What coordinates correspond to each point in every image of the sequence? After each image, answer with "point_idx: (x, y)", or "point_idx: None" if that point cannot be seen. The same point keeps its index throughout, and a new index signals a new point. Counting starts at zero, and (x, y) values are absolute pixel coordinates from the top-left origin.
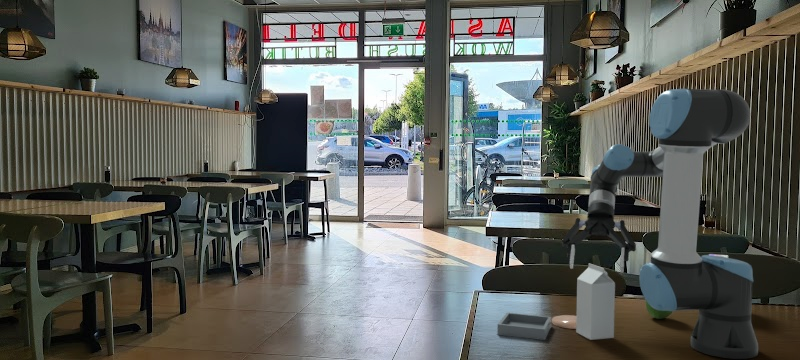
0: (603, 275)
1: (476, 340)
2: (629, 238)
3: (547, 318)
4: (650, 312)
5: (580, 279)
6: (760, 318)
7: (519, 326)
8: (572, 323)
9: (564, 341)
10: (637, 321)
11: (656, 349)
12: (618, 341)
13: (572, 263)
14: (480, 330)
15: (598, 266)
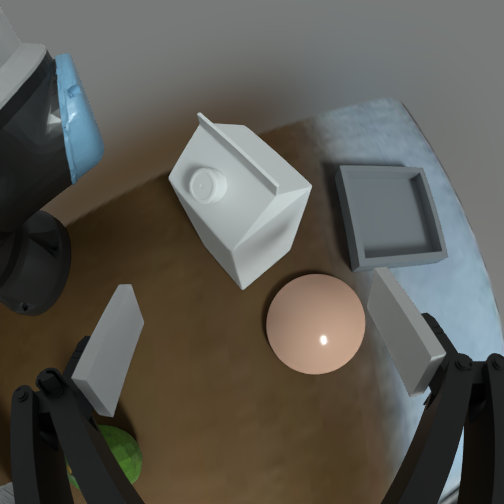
0: (205, 158)
1: (420, 141)
2: (22, 442)
3: (366, 259)
4: (132, 437)
5: (295, 171)
6: (3, 462)
7: (387, 167)
8: (310, 297)
9: None
10: (163, 410)
11: (126, 211)
12: (193, 228)
13: (374, 277)
14: (444, 190)
15: (222, 135)
